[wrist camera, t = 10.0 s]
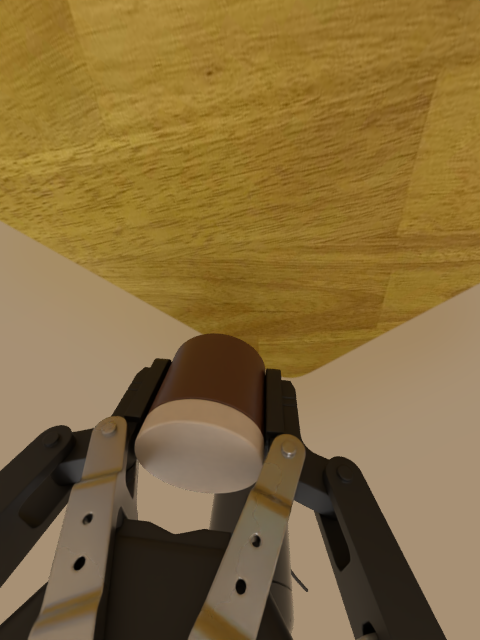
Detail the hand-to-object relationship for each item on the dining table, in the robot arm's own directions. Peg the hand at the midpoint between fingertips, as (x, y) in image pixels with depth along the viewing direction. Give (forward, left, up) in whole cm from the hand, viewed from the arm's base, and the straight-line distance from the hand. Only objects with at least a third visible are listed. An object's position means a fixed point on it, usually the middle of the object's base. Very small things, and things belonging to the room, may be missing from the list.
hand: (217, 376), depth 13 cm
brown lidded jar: (0, 0, 0) cm, 0 cm away
